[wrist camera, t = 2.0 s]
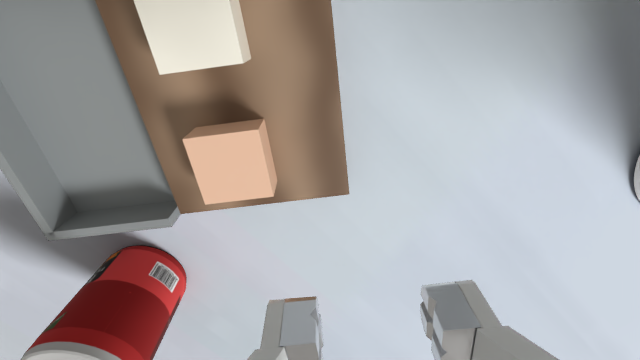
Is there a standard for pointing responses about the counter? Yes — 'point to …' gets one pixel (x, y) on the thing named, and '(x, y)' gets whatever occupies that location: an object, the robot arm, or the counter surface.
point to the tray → (74, 125)
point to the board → (246, 98)
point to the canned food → (117, 310)
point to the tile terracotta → (232, 161)
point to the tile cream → (194, 33)
